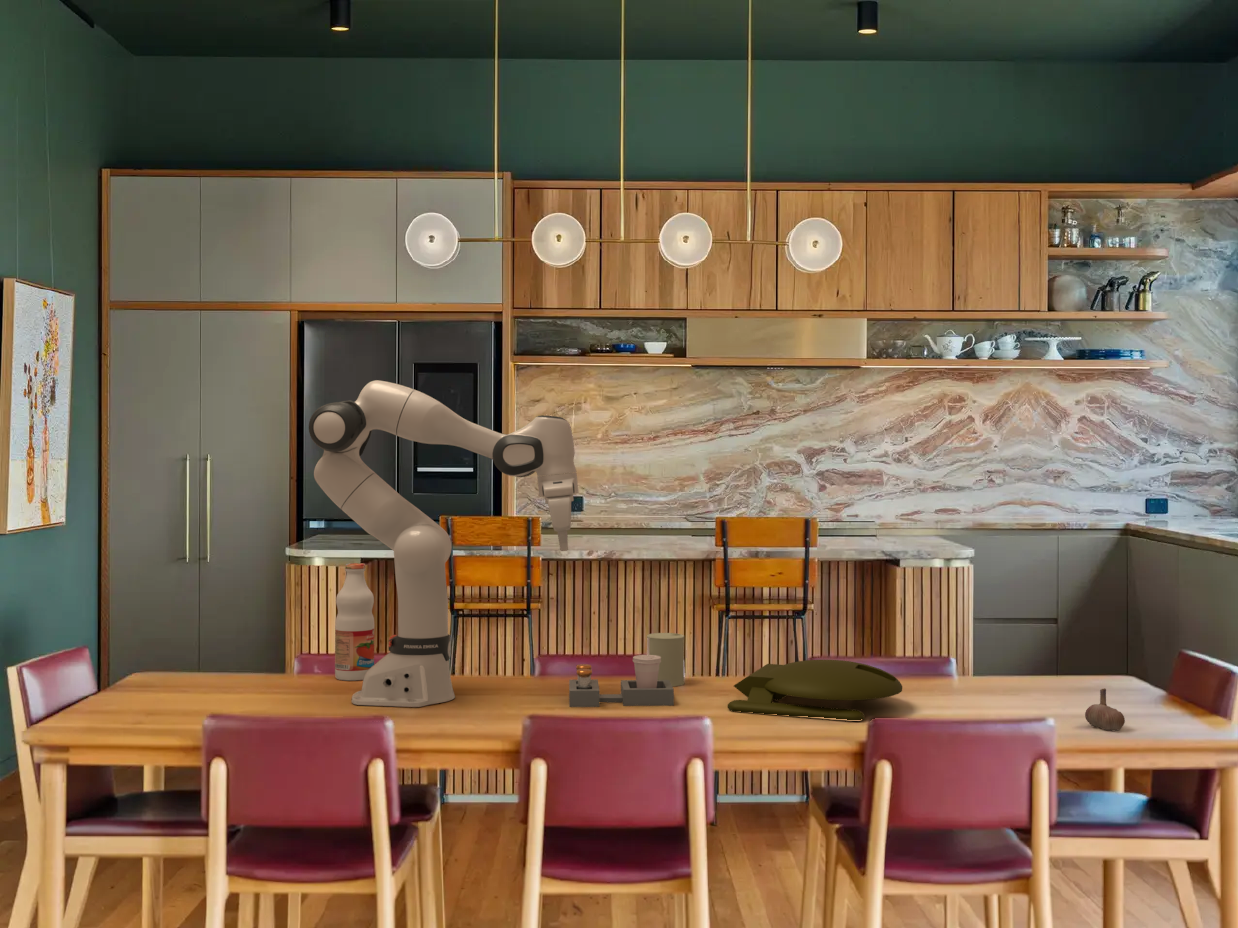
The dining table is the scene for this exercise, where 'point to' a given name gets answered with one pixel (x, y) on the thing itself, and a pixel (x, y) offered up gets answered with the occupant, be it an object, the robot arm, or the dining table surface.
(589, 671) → the plunger front
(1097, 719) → the garlic bulb
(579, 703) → the grey double well tray
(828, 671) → the spaceship
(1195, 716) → the dining table surface
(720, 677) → the dining table surface
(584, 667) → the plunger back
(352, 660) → the fruit juice
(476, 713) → the dining table surface
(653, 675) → the smoothie
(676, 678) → the can
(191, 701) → the dining table surface
